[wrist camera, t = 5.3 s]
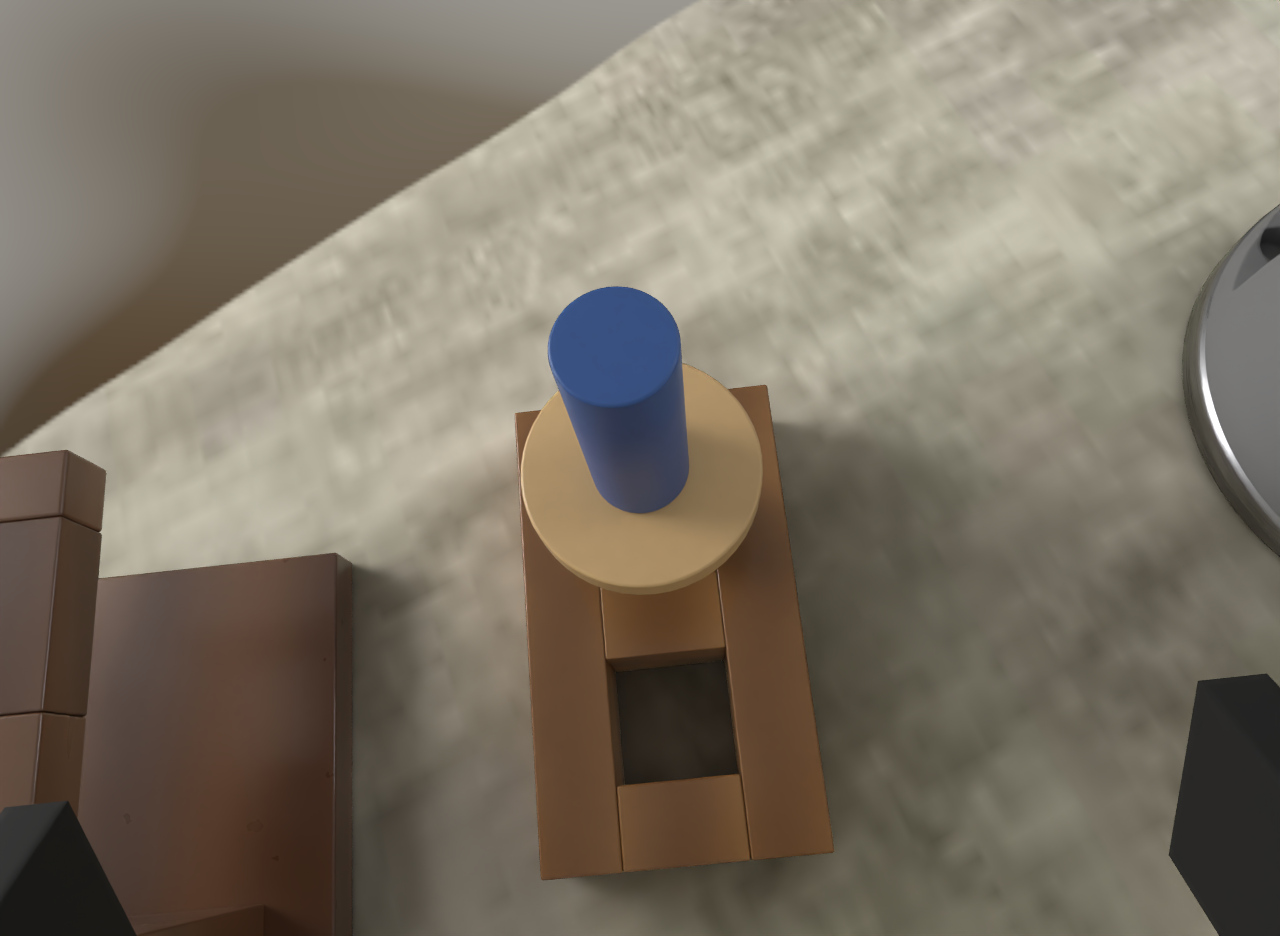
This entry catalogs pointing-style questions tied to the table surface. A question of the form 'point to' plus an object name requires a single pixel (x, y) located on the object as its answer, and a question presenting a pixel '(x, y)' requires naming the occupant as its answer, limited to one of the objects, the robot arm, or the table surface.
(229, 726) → the stand
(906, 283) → the table surface
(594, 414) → the peg
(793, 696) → the peg holder
